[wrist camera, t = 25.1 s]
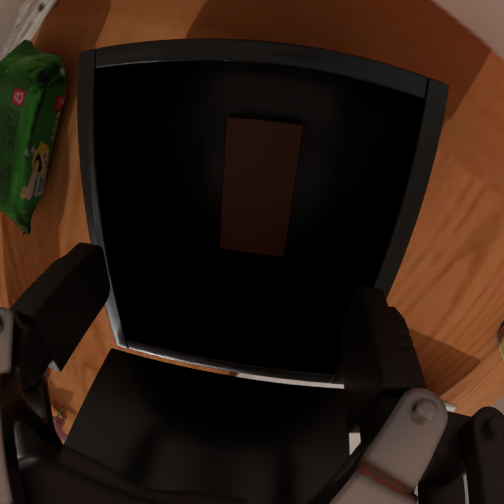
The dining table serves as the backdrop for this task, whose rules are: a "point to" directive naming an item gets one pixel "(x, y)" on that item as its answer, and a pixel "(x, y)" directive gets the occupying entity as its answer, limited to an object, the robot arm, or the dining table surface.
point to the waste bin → (210, 195)
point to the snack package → (28, 127)
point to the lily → (59, 426)
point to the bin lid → (211, 431)
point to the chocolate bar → (259, 182)
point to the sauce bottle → (501, 340)
